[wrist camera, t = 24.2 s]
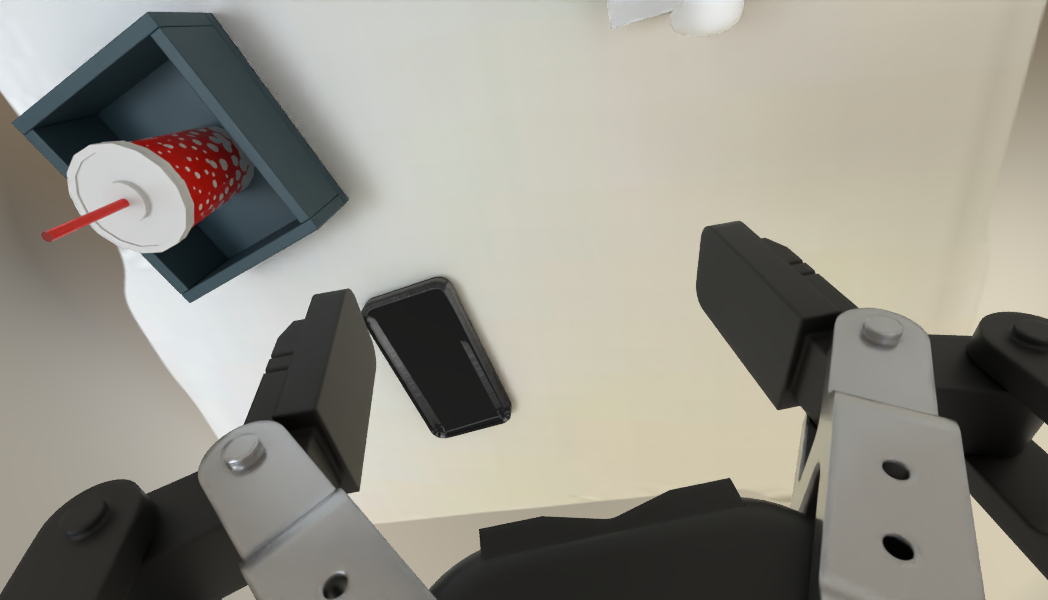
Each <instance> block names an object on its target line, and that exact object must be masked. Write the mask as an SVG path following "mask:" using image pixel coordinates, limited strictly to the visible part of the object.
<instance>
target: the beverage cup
mask: <svg viewBox="0 0 1048 600" xmlns="http://www.w3.org/2000/svg"><path fill="white" fill-rule="evenodd" d="M253 177H254V164H253V163H252V162H251V161H250V159H249V158H248V157H247V156H246V154H245V153H244V152H243V151H242V149H241V148H240V147H239V146H238V144H237V143H236V142H235V141H234V139H233V138H232V137H231V136H230V134H229V133H228V132H227V131H226V129H223V128H220V127H217V126H205V127H198V128H194V129H189V130H184V131H179V132H174V133H169V134H164V135H159V136H155V137H150V138H145V139H140V140H135V141H130V142H126V141H110V142H101V143H96V144H91V145H89V146H87V147H86V148H84V149H83V150H81V151H80V152H78V153H77V154H75V155H74V156H73V159H72V161H71V163H70V166H69V168H68V171H67V179H68V188H69V194H70V196H71V198H72V200H73V202H74V204H75V206H76V208H77V210H78V211H79V213H80V215H81V216H80V217H78V218H76V219H73V220H71V221H68V222H66V223H64V224H61V225H59V226H57V227H55V228H52V229H50V230H47V231H45V232H43V233H42V237H43V239H44V240H46V241H48V242H51V241H53V240H56V239H58V238H60V237H62V236H65V235H66V234H69V233H71V232H73V231H76V230H78V229H80V228H82V227H84V226H86V225H89V224H90V226H91V227H92V228H93V229H94V230H95V231H96V232H97V233H98V234H100V235H101V236H103V237H104V238H106V239H108V240H109V241H111V242H113V243H114V244H116V245H117V246H119V247H122V248H125V249H129V250H132V251H136V252H139V253H156V252H163V251H165V250H167V249H169V248H170V247H172V246H174V245H176V244H178V243H179V242H181V240H183V239H184V238H186V236H187V235H188V233H189V231H190V229H191V228H192V227H193V226H194V225H196V224H197V223H199V222H200V221H201V220H203V219H204V218H205V217H207V216H208V215H209V214H211V213H212V212H213V211H215V210H216V209H218V208H219V207H220V206H222V205H223V204H224V203H226V202H227V201H228V200H230V199H231V198H233V197H234V196H235V195H237V194H238V193H239V192H241V191H242V190H243V189H245V188H246V187H247V186H248V185H249V184H250V182H251V180H252V179H253Z"/></svg>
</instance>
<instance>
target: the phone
mask: <svg viewBox="0 0 1048 600" xmlns="http://www.w3.org/2000/svg"><path fill="white" fill-rule="evenodd" d="M361 314H362V316H363V319H364V321H365V324H366V327H367V329H368V331H369V332H370V334H371V335H372V337H373V339H374V340H375V342H376V343H377V345H378V347H379V348H380V350H381V352H382V353H383V355H384V356H385V358H386V360H387V361H388V363H389V365H390V366H391V368H392V369H393V371H394V373H395V374H396V376H397V377H398V379H399V381H400V382H401V384H402V386H403V387H404V389H405V390H406V392H407V394H408V395H409V397H410V399H411V400H412V402H413V403H414V405H415V407H416V408H417V410H418V412H419V413H420V415H421V416H422V418H423V420H424V421H425V423H426V424H427V426H428V428H429V429H430V431H431V432H432V434H433V435H435V436H436V437H439V438H449V437H453V436H457V435H461V434H464V433H468V432H472V431H476V430H480V429H484V428H487V427H491V426H495V425H499V424H503V423H505V422H507V421H508V420H509V419H510V416H511V403H510V401H509V399H508V397H507V395H506V393H505V391H504V389H503V387H502V385H501V383H500V380H499V378H498V376H497V374H496V372H495V370H494V368H493V366H492V364H491V362H490V360H489V358H488V356H487V354H486V352H485V350H484V348H483V346H482V344H481V342H480V340H479V338H478V336H477V334H476V332H475V330H474V328H473V326H472V324H471V322H470V320H469V318H468V316H467V314H466V312H465V310H464V308H463V306H462V304H461V302H460V300H459V298H458V296H457V294H456V292H455V290H454V288H453V286H452V285H451V283H450V282H449V281H447V280H446V279H443V278H438V277H437V278H432V279H429V280H426V281H423V282H420V283H417V284H414V285H411V286H408V287H405V288H402V289H399V290H396V291H393V292H390V293H387V294H384V295H381V296H378V297H375V298H372V299H370V300H369V301H368V302H367V303H366V304H365V306H364V308H363V309H362V312H361Z"/></svg>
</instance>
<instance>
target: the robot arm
mask: <svg viewBox="0 0 1048 600" xmlns="http://www.w3.org/2000/svg"><path fill="white" fill-rule="evenodd" d="M696 291H697V296H698V300H699V303H700V305H701V307H702V309H703V310H704V312H705V313H706V314H707V316H708V317H709V319H710V320H711V321H712V323H713V324H714V325H715V327H716V328H717V329H718V331H719V332H720V333H721V335H722V336H723V337H724V339H725V340H726V341H727V343H728V344H729V345H730V347H731V348H732V349H733V351H734V352H735V354H736V355H737V356H738V358H739V359H740V360H741V362H742V363H743V364H744V366H745V367H746V368H747V370H748V371H749V372H750V374H751V375H752V376H753V378H754V379H755V380H756V382H757V383H758V385H759V386H760V387H761V389H762V390H763V391H764V393H765V394H766V395H767V397H768V398H769V399H770V401H771V402H772V403H773V405H774V406H775V407H776V409H777V410H781V409H786V408H791V407H796V406H801V407H802V408H803V409H804V411H805V412H806V415H805V418H804V421H803V425H802V432H801V439H800V446H799V453H798V460H797V467H796V474H795V481H794V488H793V495H792V500H791V505H790V508H788V507H786V506H783V505H780V504H776V503H772V502H768V501H765V500H759V499H752V498H743V497H740V495H739V493H738V492H737V490H736V488H735V486H734V484H733V483H732V481H731V479H730V478H727V479H722V480H718V481H713V482H708V483H703V484H698V485H693V486H688V487H683V488H678V489H673V490H669V491H667V492H665V493H663V494H661V495H659V496H657V497H655V498H653V499H652V500H649V501H647V502H645V503H643V504H641V505H639V506H637V507H635V508H633V509H631V510H630V511H627V512H625V513H623V514H621V515H619V516H617V517H615V518H611V519H590V518H567V517H544V516H541V517H536V518H532V519H527V520H522V521H517V522H512V523H507V524H502V525H497V526H492V527H488V528H483V529H479V534H480V547H481V550H479V551H477V552H475V553H473V554H471V555H470V556H468V557H466V558H465V559H463V560H462V561H460V562H459V563H457V564H456V565H455V566H453V567H452V568H451V569H450V570H448V571H447V572H446V573H445V574H443V575H442V576H441V577H440V578H439V579H438V581H436V582H435V584H434V585H433V586H432V587H431V588H430V589H429V590H428V589H427V587H426V586H425V585H424V584H423V583H422V582H421V580H420V579H419V578H418V577H417V576H416V574H415V573H414V572H413V571H412V570H411V569H410V568H409V566H408V565H407V564H406V563H405V562H404V560H403V559H402V558H401V557H400V556H399V555H398V553H397V552H396V551H395V550H394V549H393V547H392V546H391V545H390V544H389V543H388V542H387V540H386V539H385V538H384V537H383V536H382V535H381V534H380V532H379V531H378V530H377V529H376V528H375V527H374V525H373V524H372V523H371V522H370V520H369V519H368V518H367V517H366V516H365V515H364V513H363V512H362V511H361V510H360V509H359V507H358V506H357V505H356V504H355V503H354V502H353V500H352V499H351V498H350V497H349V496H348V495H347V494H348V493H353V492H358V491H359V490H360V483H361V475H362V468H363V461H364V453H365V446H366V438H367V431H368V424H369V416H370V409H371V401H372V394H373V386H374V379H375V372H376V356H375V350H374V346H373V342H372V340H371V337H370V334H369V332H368V329H367V327H366V324H365V321H364V319H363V316H362V314H361V311H360V308H359V306H358V303H357V301H356V298H355V296H354V294H353V292H352V291H351V290H350V289H343V290H338V291H332V292H326V293H321V294H315V295H314V296H313V297H312V300H311V303H310V306H309V309H308V311H307V314H306V317H305V319H303V320H297V321H293V322H292V323H291V325H290V326H289V327H288V328H287V329H286V330H285V331H284V332H283V333H282V334H281V335H280V336H279V338H278V339H277V342H276V344H275V347H274V349H273V352H272V354H271V357H272V359H270V360H269V362H268V365H267V367H266V370H265V371H266V374H264V375H263V377H262V380H261V382H260V385H259V387H258V390H257V392H256V395H255V397H254V400H253V403H252V405H251V408H250V410H249V413H248V415H247V418H246V420H245V423H244V425H243V426H240V427H238V428H236V429H234V430H232V431H231V432H229V433H227V434H226V435H224V436H223V437H222V438H220V439H219V440H218V441H217V442H216V443H215V444H214V445H213V446H212V447H211V448H210V449H209V450H208V451H207V453H206V454H205V455H204V457H203V459H202V461H201V463H200V466H199V469H198V471H197V472H195V473H193V474H191V475H189V476H186V477H184V478H182V479H179V480H177V481H175V482H172V483H171V484H168V485H166V486H163V487H161V488H159V489H157V490H154V491H152V492H150V493H147V494H146V493H145V492H144V491H143V490H142V489H141V488H140V487H139V486H138V485H137V484H136V483H135V482H132V481H130V480H125V479H121V480H112V481H108V482H104V483H101V484H98V485H96V486H94V487H91V488H89V489H87V490H85V491H83V492H82V493H80V494H78V495H77V496H75V497H74V498H72V499H71V500H70V501H68V502H67V503H65V504H64V505H63V506H62V507H61V508H59V509H58V510H57V511H56V512H55V513H54V514H53V515H52V516H51V517H50V518H49V519H48V520H47V521H46V523H45V524H44V525H43V527H42V528H41V529H40V531H39V532H38V534H37V535H36V537H35V539H34V540H33V542H32V544H31V545H30V547H29V548H28V550H27V552H26V553H25V555H24V557H23V558H22V560H21V562H20V563H19V565H18V566H17V568H16V570H15V571H14V573H13V574H12V576H11V578H10V579H9V581H8V583H7V584H6V586H5V588H4V589H3V591H2V593H1V594H0V600H222V598H224V597H225V596H227V595H229V594H231V593H233V592H235V591H237V590H239V589H241V588H243V587H245V586H247V585H249V587H250V589H251V591H252V593H253V594H254V597H255V599H256V600H985V594H984V587H983V580H982V573H981V567H980V560H979V554H978V546H977V540H976V533H975V527H974V519H973V513H972V507H971V500H970V494H971V495H972V497H973V498H974V499H975V500H976V501H977V502H978V503H979V504H980V505H981V506H982V508H983V509H984V510H985V511H986V512H987V513H988V514H989V515H990V517H991V518H992V519H993V520H994V521H995V522H996V523H997V524H998V525H999V526H1000V528H1001V529H1002V530H1003V531H1004V532H1005V533H1006V534H1007V535H1008V536H1009V538H1010V539H1011V540H1012V541H1013V542H1014V543H1015V544H1016V545H1017V546H1018V547H1019V549H1020V550H1021V551H1022V552H1023V553H1024V554H1025V555H1026V556H1027V557H1028V559H1029V560H1030V561H1031V562H1032V563H1033V564H1034V565H1035V566H1036V567H1037V568H1038V570H1039V571H1040V572H1041V573H1042V574H1043V575H1044V576H1045V577H1046V578H1047V580H1048V454H1047V453H1046V452H1045V451H1044V450H1043V449H1042V448H1041V447H1039V446H1038V445H1037V444H1036V443H1035V442H1034V441H1033V440H1032V438H1033V436H1034V435H1035V433H1036V432H1037V431H1038V430H1039V428H1040V427H1041V426H1042V424H1043V423H1044V422H1045V423H1046V424H1047V425H1048V319H1046V318H1043V317H1039V316H1035V315H1031V314H1025V313H1018V312H998V313H993V314H990V315H987V316H985V317H984V318H982V320H981V321H980V323H979V325H978V327H977V328H976V330H975V332H974V334H973V336H956V335H930V334H927V333H926V332H925V331H924V330H923V328H921V327H920V326H919V325H918V324H917V323H915V322H913V321H912V320H910V319H908V318H906V317H904V316H902V315H899V314H897V313H894V312H890V311H887V310H882V309H875V308H858V307H857V306H856V305H854V304H853V303H852V302H851V301H850V300H849V299H847V298H846V297H845V296H844V295H843V294H842V293H840V292H839V291H838V290H837V289H836V288H834V287H833V286H832V285H831V284H830V283H829V282H827V281H826V280H825V279H824V278H823V277H822V276H820V275H819V274H815V271H814V270H813V269H812V268H811V267H810V266H809V265H807V264H806V263H803V262H802V259H800V258H799V257H798V256H797V255H796V254H795V253H793V252H792V251H791V250H790V249H789V248H787V247H785V246H783V245H781V244H778V243H776V242H774V241H772V240H769V239H767V238H762V239H761V238H760V237H759V236H757V235H756V234H755V233H754V232H753V231H752V230H751V229H750V228H748V227H747V226H746V225H745V224H744V223H743V222H741V221H735V222H729V223H723V224H718V225H712V226H707V227H705V228H704V230H703V232H702V235H701V242H700V252H699V261H698V270H697V280H696Z"/></svg>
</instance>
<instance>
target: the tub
mask: <svg viewBox="0 0 1048 600" xmlns="http://www.w3.org/2000/svg"><path fill="white" fill-rule="evenodd" d="M12 124H13V125H14V126H15V127H16V128H17V129H18V130H19V131H20V132H21V133H22V134H23V135H25V137H26V138H27V139H28V140H29V141H30V142H31V143H32V144H33V145H34V146H35V147H36V148H37V149H38V150H39V151H40V152H41V153H42V154H43V155H44V156H45V157H46V158H47V159H48V160H49V161H50V162H51V163H52V164H53V165H54V166H55V167H56V169H57V170H58V171H60V173H61V174H63V175H64V177H65V178H66V179H67V171H68V168H69V166H70V163H71V161H72V159H73V156H74V155H75V154H77V153H78V152H80V151H81V150H83V149H84V148H86V147H87V146H89V145H91V144H96V143H101V142H110V141H126V142H130V141H135V140H140V139H145V138H150V137H155V136H159V135H164V134H169V133H174V132H179V131H184V130H189V129H194V128H198V127H205V126H217V127H220V128H223V129H226V131H227V132H228V133H229V134H230V136H231V137H232V138H233V139H234V141H235V142H236V143H237V144H238V146H239V147H240V148H241V149H242V151H243V152H244V153H245V154H246V156H247V157H248V158H249V159H250V161H251V162H252V163H253V164H254V177H253V179H252V180H251V182H250V184H249V185H248V186H247V187H246V188H245V189H243V190H242V191H241V192H239V193H238V194H237V195H235V196H234V197H233V198H231V199H230V200H228V201H227V202H226V203H224V204H223V205H222V206H220V207H219V208H218V209H216V210H215V211H213V212H212V213H211V214H209V215H208V216H207V217H205V218H204V219H203V220H201V221H200V222H199V223H197V224H196V225H194V226H193V227H192V228H191V229H190V231H189V233H188V235H187V236H186V238H184V239H183V240H181V242H179V243H178V244H176V245H174V246H172V247H170V248H169V249H167V250H165V251H163V252H156V253H141V254H142V255H143V256H144V257H145V259H146V260H147V261H148V262H149V263H150V264H151V265H152V266H153V267H154V268H155V269H156V270H157V271H158V272H159V273H160V274H161V275H162V276H163V277H164V278H165V279H166V280H167V281H168V282H169V283H170V284H171V285H172V286H173V287H174V288H175V289H176V290H177V291H178V292H179V293H180V294H182V296H183V297H184V298H185V299H186V300H187V301H188V302H189V303H191V302H193V301H195V300H196V299H198V298H200V297H202V296H203V295H205V294H207V293H209V292H210V291H212V290H214V289H215V288H217V287H219V286H221V285H222V284H224V283H226V282H228V281H229V280H231V279H233V278H235V277H236V276H238V275H240V274H241V273H243V272H245V271H247V270H248V269H250V268H252V267H254V266H255V265H257V264H259V263H261V262H262V261H264V260H266V259H267V258H269V257H271V256H273V255H274V254H276V253H278V252H280V251H281V250H283V249H285V248H287V247H288V246H290V245H292V244H293V243H295V242H297V241H299V240H300V239H302V238H304V237H306V236H307V235H309V234H311V233H313V232H314V231H316V230H318V229H319V228H320V227H321V226H322V225H323V224H324V223H325V222H326V221H327V220H328V219H329V218H331V217H332V216H333V215H334V214H335V213H336V212H337V211H338V210H339V209H340V208H341V207H342V206H343V205H344V204H345V203H346V202H347V201H348V198H347V197H346V196H345V194H344V193H343V192H342V190H341V189H340V187H339V186H338V185H337V183H336V182H335V181H334V179H333V178H332V177H331V175H330V174H329V173H328V171H327V170H326V168H325V167H324V166H323V164H322V163H321V162H320V160H319V159H318V158H317V156H316V155H315V153H314V152H313V151H312V149H311V148H310V147H309V145H308V144H307V143H306V141H305V140H304V138H303V137H302V136H301V134H300V133H299V132H298V130H297V129H296V128H295V126H294V125H293V124H292V122H291V121H290V119H289V118H288V117H287V115H286V114H285V113H284V111H283V110H282V109H281V107H280V106H279V104H278V103H277V102H276V100H275V99H274V98H273V96H272V95H271V94H270V92H269V91H268V90H267V88H266V87H265V85H264V84H263V83H262V81H261V80H260V79H259V77H258V76H257V75H256V73H255V72H254V70H253V69H252V68H251V66H250V65H249V64H248V62H247V61H246V60H245V58H244V57H243V56H242V54H241V53H240V51H239V50H238V49H237V47H236V46H235V45H234V43H233V42H232V41H231V39H230V38H229V36H228V35H227V34H226V32H225V31H224V30H223V28H222V27H221V26H220V24H219V23H218V22H217V20H216V19H215V17H214V16H213V15H212V14H211V13H191V12H147V13H145V14H144V15H143V16H142V17H141V18H139V19H138V20H137V21H136V22H134V23H133V24H132V25H131V26H130V27H128V28H127V29H126V30H125V31H123V32H122V33H121V34H120V35H119V36H117V37H116V38H115V39H114V40H112V41H111V42H110V43H109V44H108V45H106V46H105V47H104V48H103V49H101V50H100V51H99V52H98V53H97V54H95V55H94V56H93V57H92V58H90V59H89V60H88V61H87V62H86V63H84V64H83V65H82V66H81V67H79V68H78V69H77V70H76V71H75V72H73V73H72V74H71V75H70V76H68V77H67V78H66V79H65V80H63V81H62V82H61V83H60V84H59V85H57V86H56V87H55V88H54V89H52V90H51V91H50V92H49V93H48V94H46V95H45V96H44V97H43V98H41V99H40V100H39V101H38V102H37V103H35V104H34V105H33V106H32V107H30V108H29V109H28V110H27V111H26V112H24V113H23V114H22V115H21V116H19V117H18V118H17V119H16V120H15V121H14V122H12ZM67 180H68V179H67Z"/></svg>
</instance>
